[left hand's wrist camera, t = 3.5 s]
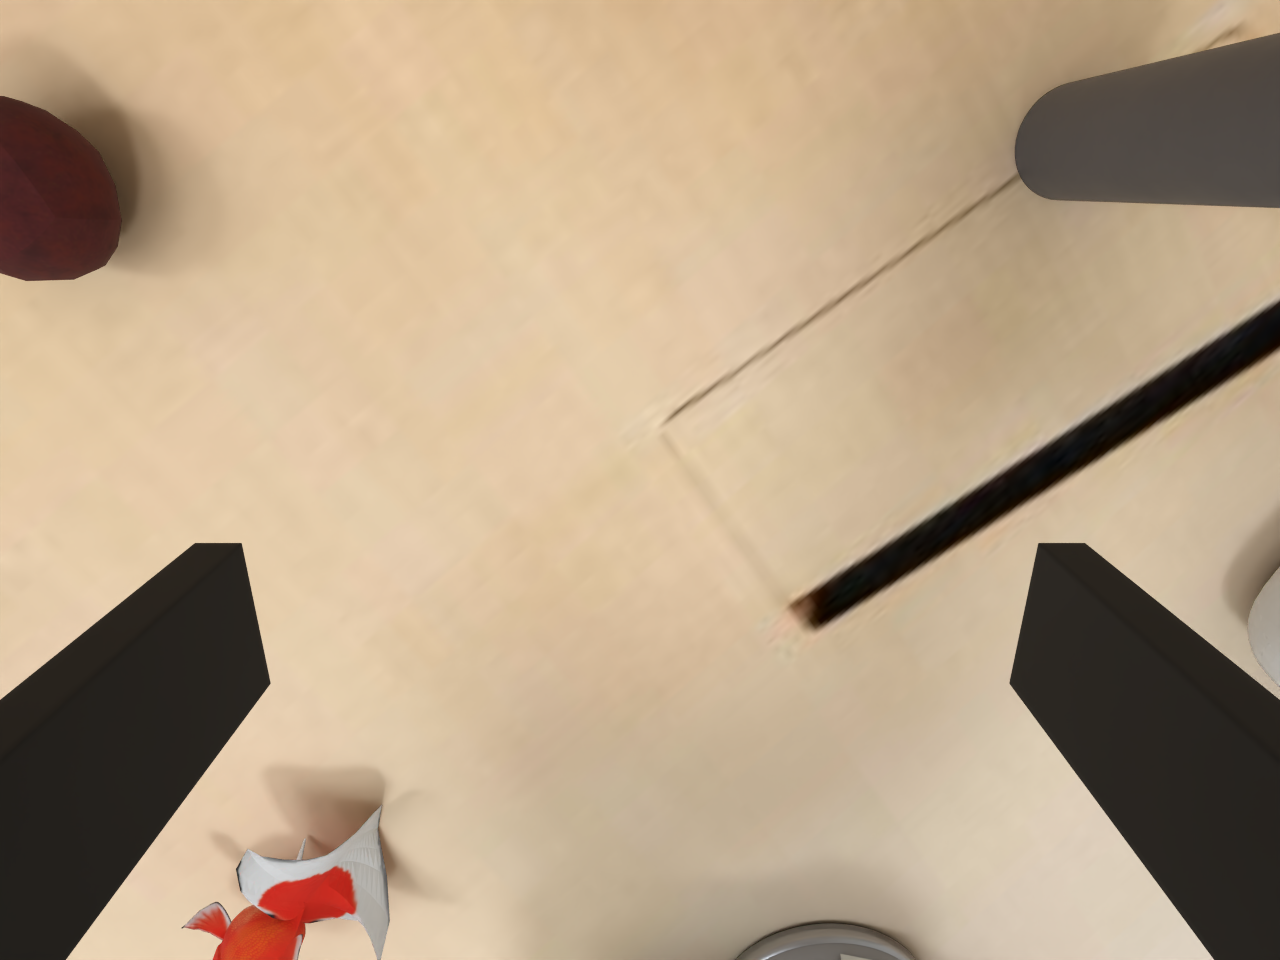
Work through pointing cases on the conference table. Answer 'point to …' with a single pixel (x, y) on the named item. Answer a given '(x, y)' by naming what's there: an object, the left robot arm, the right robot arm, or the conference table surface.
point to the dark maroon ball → (52, 198)
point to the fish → (302, 899)
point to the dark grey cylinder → (1162, 132)
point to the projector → (1267, 627)
